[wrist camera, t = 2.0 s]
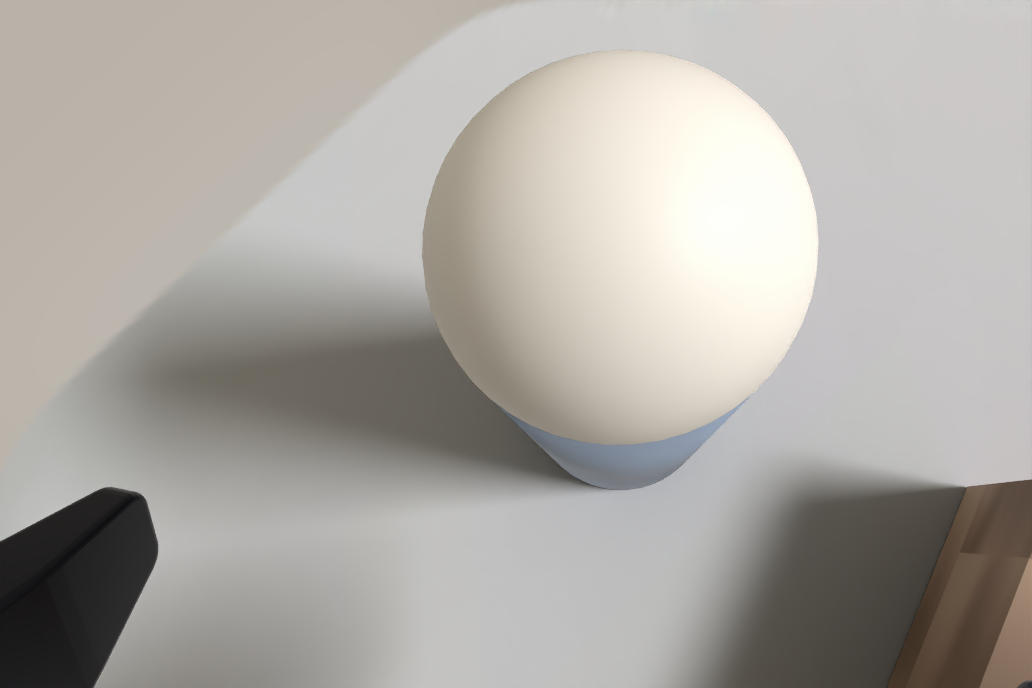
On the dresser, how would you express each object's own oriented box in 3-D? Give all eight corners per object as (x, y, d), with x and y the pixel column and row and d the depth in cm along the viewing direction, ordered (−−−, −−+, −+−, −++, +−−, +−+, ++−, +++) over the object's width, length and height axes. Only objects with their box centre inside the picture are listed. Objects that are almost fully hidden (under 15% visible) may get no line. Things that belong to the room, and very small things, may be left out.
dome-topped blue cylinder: (663, 520, 19) (746, 511, 6) (503, 442, 20) (290, 294, 7) (735, 360, 19) (948, 51, 7) (577, 291, 20) (503, -100, 8)
